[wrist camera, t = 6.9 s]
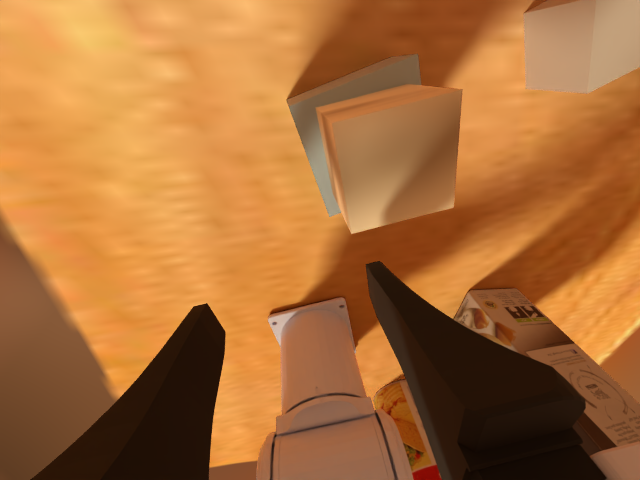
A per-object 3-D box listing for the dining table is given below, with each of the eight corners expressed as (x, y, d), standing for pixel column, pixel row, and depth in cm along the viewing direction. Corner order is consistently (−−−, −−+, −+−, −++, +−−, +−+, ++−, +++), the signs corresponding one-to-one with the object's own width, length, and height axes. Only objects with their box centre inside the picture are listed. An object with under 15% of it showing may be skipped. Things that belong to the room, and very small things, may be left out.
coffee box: (466, 288, 29) (629, 476, 16) (517, 286, 30) (710, 461, 17) (439, 342, 34) (546, 521, 21) (484, 339, 35) (613, 507, 22)
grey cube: (590, 54, 18) (673, 50, 14) (525, 88, 19) (587, 93, 15) (598, -30, 16) (699, -61, 12) (522, 13, 16) (596, -4, 13)
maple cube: (409, 173, 17) (453, 207, 13) (332, 193, 17) (351, 234, 13) (407, 83, 14) (462, 89, 10) (315, 107, 14) (331, 123, 10)
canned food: (365, 407, 40) (394, 519, 30) (387, 377, 37) (429, 493, 27) (408, 408, 43) (449, 512, 33) (434, 380, 39) (489, 488, 29)
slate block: (406, 161, 21) (431, 178, 17) (321, 193, 21) (329, 216, 18) (389, 56, 17) (418, 53, 13) (286, 99, 17) (288, 106, 14)
